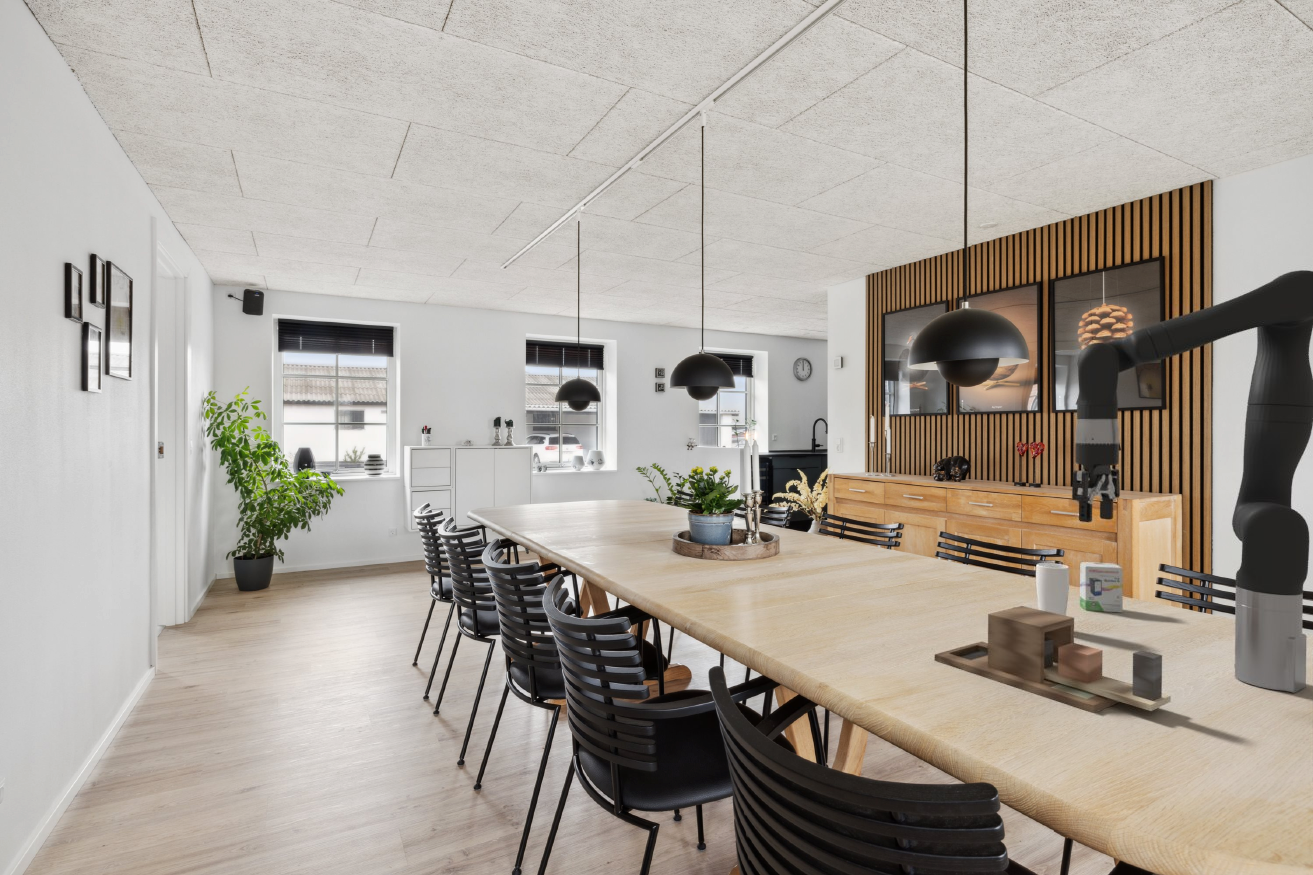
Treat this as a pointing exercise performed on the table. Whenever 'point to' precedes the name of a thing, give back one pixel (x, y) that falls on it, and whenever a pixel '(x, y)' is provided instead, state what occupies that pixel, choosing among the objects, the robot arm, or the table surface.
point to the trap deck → (1024, 655)
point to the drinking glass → (1052, 587)
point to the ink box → (1101, 587)
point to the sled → (1085, 673)
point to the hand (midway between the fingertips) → (1096, 520)
